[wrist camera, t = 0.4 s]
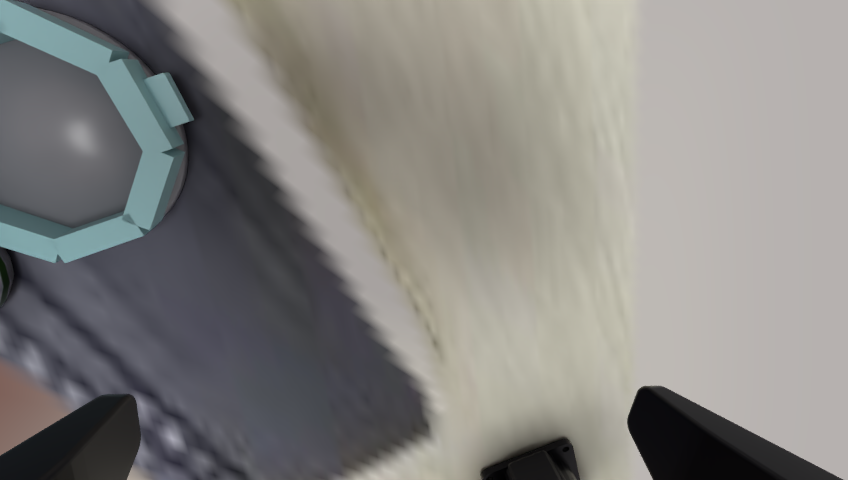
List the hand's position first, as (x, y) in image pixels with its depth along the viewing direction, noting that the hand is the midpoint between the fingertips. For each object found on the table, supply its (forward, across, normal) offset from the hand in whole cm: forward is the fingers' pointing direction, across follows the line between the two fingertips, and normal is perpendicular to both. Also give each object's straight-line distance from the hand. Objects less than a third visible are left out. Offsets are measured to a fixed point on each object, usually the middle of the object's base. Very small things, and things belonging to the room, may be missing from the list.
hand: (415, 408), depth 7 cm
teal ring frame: (+13, +12, -2) cm, 18 cm away
